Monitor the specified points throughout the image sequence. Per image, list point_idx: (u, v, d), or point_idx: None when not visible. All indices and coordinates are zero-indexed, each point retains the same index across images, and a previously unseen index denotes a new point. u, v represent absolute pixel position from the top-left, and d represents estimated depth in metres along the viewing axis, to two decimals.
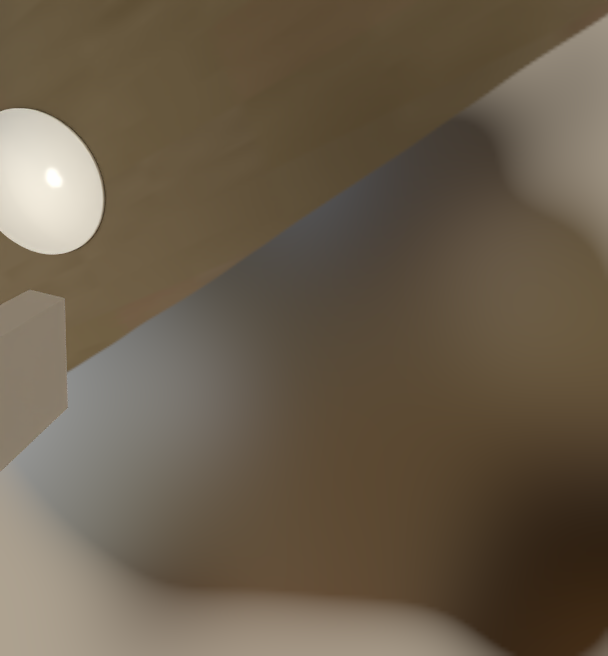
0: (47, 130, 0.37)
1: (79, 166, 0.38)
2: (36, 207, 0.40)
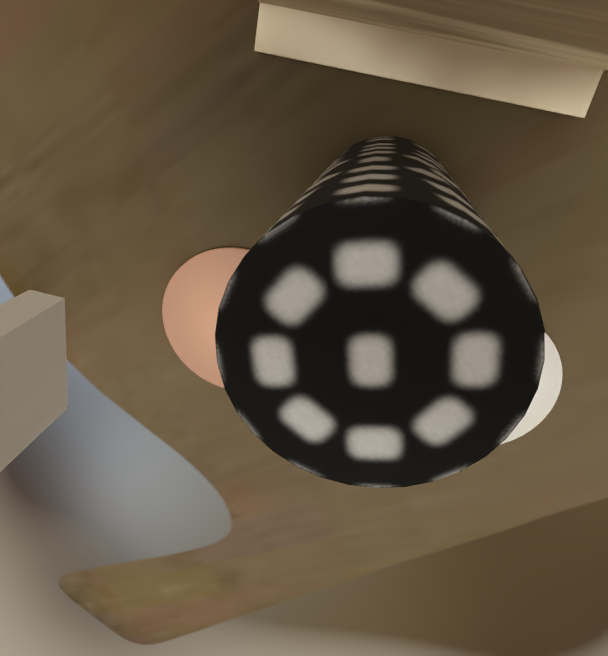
0: None
1: None
2: None
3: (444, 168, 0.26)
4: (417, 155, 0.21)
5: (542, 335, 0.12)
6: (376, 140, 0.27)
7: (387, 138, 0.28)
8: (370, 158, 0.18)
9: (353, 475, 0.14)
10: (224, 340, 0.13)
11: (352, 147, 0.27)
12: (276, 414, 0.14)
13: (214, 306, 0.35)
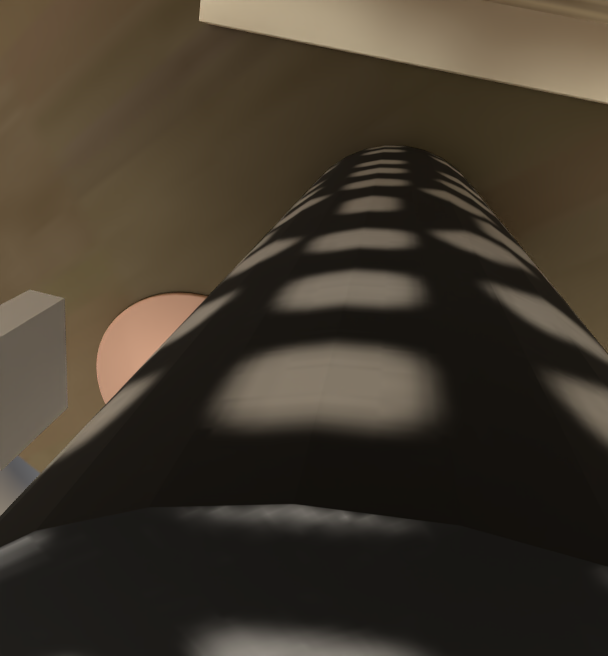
0: None
1: None
2: None
3: None
4: (445, 186, 0.13)
5: None
6: (377, 153, 0.18)
7: (394, 149, 0.19)
8: (362, 201, 0.10)
9: None
10: None
11: (342, 162, 0.19)
12: None
13: None
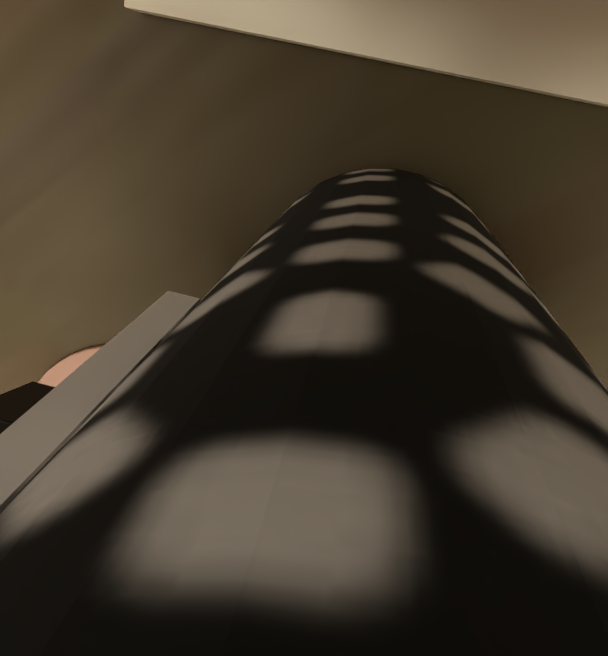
0: None
1: None
2: None
3: (494, 239, 0.13)
4: (455, 249, 0.08)
5: None
6: (358, 181, 0.14)
7: (380, 175, 0.14)
8: (312, 306, 0.05)
9: None
10: None
11: (313, 193, 0.14)
12: None
13: None
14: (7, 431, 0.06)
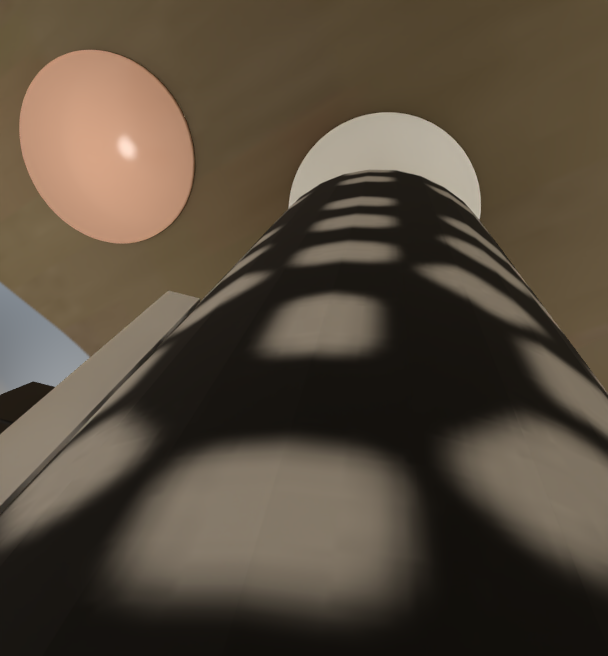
0: (422, 142, 0.27)
1: (456, 190, 0.28)
2: None
3: (493, 240, 0.13)
4: (454, 251, 0.08)
5: None
6: (358, 183, 0.14)
7: (380, 176, 0.14)
8: (312, 309, 0.05)
9: None
10: None
11: (313, 194, 0.14)
12: None
13: (77, 131, 0.30)
14: (7, 431, 0.06)
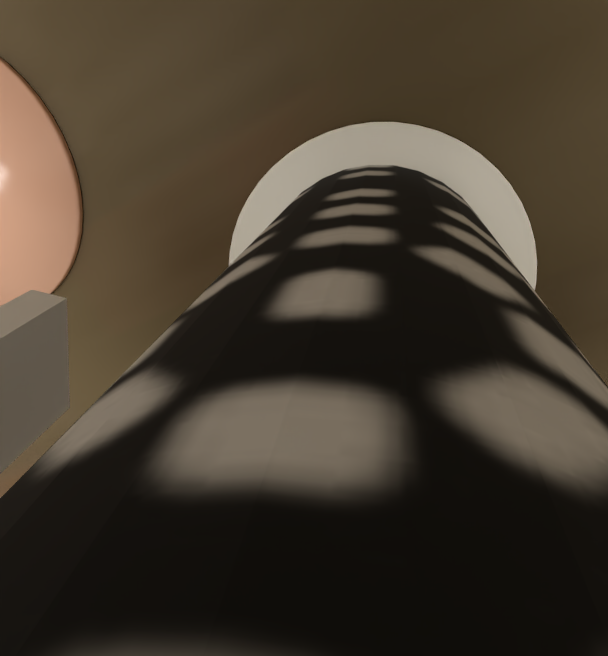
0: (442, 172, 0.16)
1: None
2: None
3: None
4: (449, 236, 0.09)
5: None
6: (358, 176, 0.14)
7: (380, 171, 0.15)
8: (316, 282, 0.06)
9: None
10: None
11: (315, 188, 0.15)
12: None
13: None
14: None
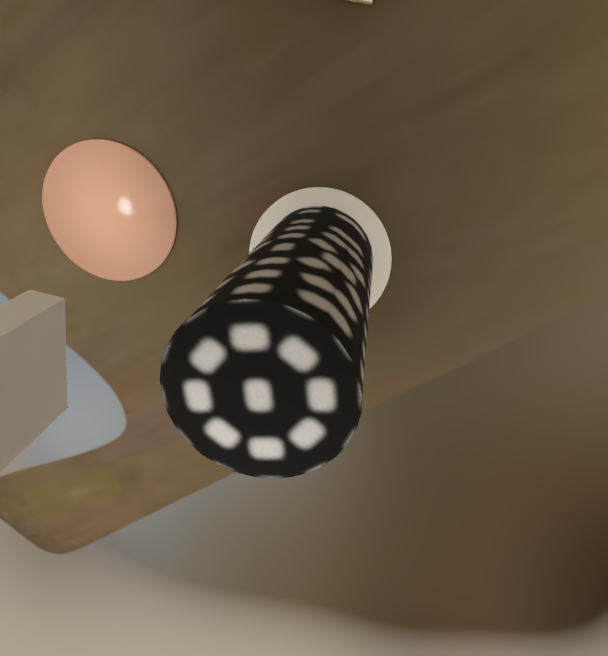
0: (346, 209, 0.36)
1: (372, 243, 0.37)
2: None
3: (357, 235, 0.34)
4: (323, 235, 0.29)
5: (358, 380, 0.19)
6: (305, 213, 0.34)
7: (316, 209, 0.35)
8: (281, 245, 0.26)
9: (255, 470, 0.22)
10: (166, 382, 0.21)
11: (288, 217, 0.35)
12: (202, 429, 0.21)
13: (87, 197, 0.39)
14: None
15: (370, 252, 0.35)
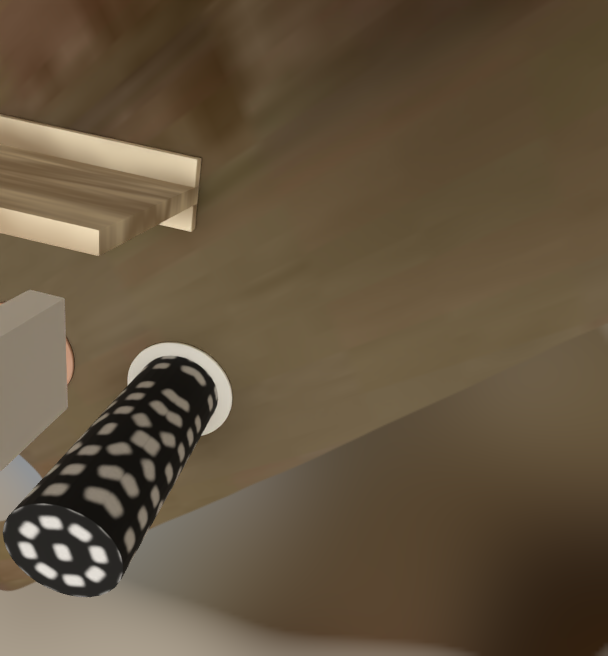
0: (193, 358, 0.49)
1: (215, 382, 0.49)
2: None
3: (193, 386, 0.46)
4: (149, 406, 0.41)
5: (117, 548, 0.32)
6: (156, 368, 0.47)
7: (167, 363, 0.47)
8: (107, 426, 0.38)
9: (70, 591, 0.34)
10: (7, 542, 0.33)
11: (146, 369, 0.47)
12: (34, 568, 0.34)
13: None
14: None
15: (208, 393, 0.48)
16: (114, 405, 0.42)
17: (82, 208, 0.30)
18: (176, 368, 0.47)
